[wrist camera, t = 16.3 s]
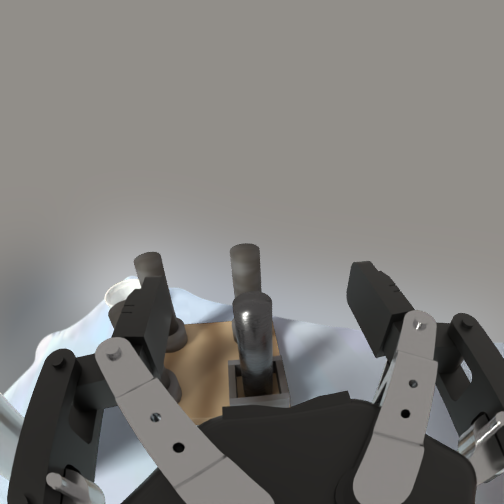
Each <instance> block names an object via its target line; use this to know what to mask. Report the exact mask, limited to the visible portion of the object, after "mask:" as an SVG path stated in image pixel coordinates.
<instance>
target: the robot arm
mask: <svg viewBox="0 0 504 504" xmlns="http://www.w3.org/2000/svg"><path fill="white" fill-rule="evenodd" d="M347 302H348V305H349V307H350V308H351V310H352V312H353V314H354V316H355V318H356V320H357V322H358V324H359V326H360V328H361V330H362V332H363V334H364V336H365V338H366V340H367V341H368V343H369V345H370V347H371V349H372V351H373V354H374V356H375V358H378V357H382V356H386V358H387V361H386V363H385V366H384V369H383V372H382V375H381V378H380V381H379V384H378V387H377V390H376V392H375V395H374V398H373V400H372V402H368V401H364V400H358V399H350V396H349V393H348V391H344V392H339V393H334V394H328V395H323V396H318V397H316V398H313V399H311V400H308V401H306V402H303V403H301V404H298V405H295V406H293V407H289V408H282V407H271V406H262V405H241V406H224V407H222V415H221V416H217V417H214V418H212V419H209V420H207V421H205V422H203V423H202V424H200V425H199V426H196V425H195V424H194V422H193V421H192V420H191V419H190V418H189V417H188V415H187V414H186V413H185V412H184V411H183V410H182V408H181V407H180V406H179V405H178V404H177V402H176V401H175V400H174V399H173V397H172V396H171V395H170V394H169V392H168V391H167V390H166V388H165V387H164V386H163V385H162V383H161V382H160V381H159V379H161V377H162V371H163V364H164V358H165V352H166V346H167V341H168V335H169V329H170V324H171V318H172V310H171V303H170V299H169V295H168V291H167V287H166V282H165V279H164V277H163V276H146V277H145V279H144V281H143V284H142V287H141V289H134V290H133V291H132V292H131V293H130V294H129V295H128V296H127V298H126V301H125V303H124V307H123V308H122V311H121V314H120V316H119V319H118V321H117V324H116V326H115V329H114V332H113V335H112V337H111V338H109V339H107V340H105V341H103V342H102V343H101V344H100V345H99V346H98V347H97V349H96V352H95V353H94V354H91V355H86V356H82V357H77V358H76V357H75V355H74V353H73V352H72V351H71V350H69V349H58V350H56V351H54V352H52V353H51V354H50V355H49V356H48V357H47V358H46V360H45V362H44V365H43V367H42V370H41V372H40V375H39V377H38V380H37V383H36V385H35V388H34V391H33V394H32V397H31V400H30V403H29V406H28V409H27V412H26V415H25V418H23V417H22V416H21V414H20V413H19V412H18V411H17V410H16V409H15V408H14V407H13V406H12V405H11V404H10V403H9V402H8V401H7V399H6V398H5V397H4V396H3V395H2V394H1V393H0V475H1V476H3V477H4V478H6V479H7V480H9V481H10V482H9V488H8V495H7V502H8V504H105V497H104V494H103V492H102V490H101V489H100V488H99V486H97V485H96V484H95V483H94V478H95V468H96V459H97V451H98V443H99V436H100V430H101V423H102V417H103V412H104V408H109V407H114V406H119V408H120V409H121V411H122V413H123V415H124V416H125V418H126V420H127V421H128V423H129V425H130V426H131V428H132V429H133V431H134V433H135V434H136V436H137V437H138V439H139V440H140V442H141V443H142V445H143V446H144V448H145V449H146V451H147V452H148V454H149V455H150V456H151V458H152V459H153V461H154V462H155V463H156V465H157V466H158V467H157V468H156V469H155V470H154V471H153V473H152V474H151V475H150V476H149V477H148V478H147V479H146V480H145V481H144V482H143V483H142V484H141V485H140V486H139V487H138V488H136V489H135V490H134V491H133V492H132V493H131V494H130V495H129V496H128V497H127V498H126V499H125V500H124V501H123V502H122V503H121V504H475V495H476V487H477V486H478V485H480V484H481V483H487V482H489V481H491V480H492V479H494V478H496V477H497V476H499V475H500V474H502V473H503V472H504V358H503V357H502V355H501V354H500V352H499V351H498V349H497V348H496V346H495V345H494V344H493V342H492V341H491V339H490V338H489V336H488V335H487V334H486V332H485V331H484V330H483V328H482V327H481V326H480V324H479V323H478V322H477V320H476V319H475V318H473V317H472V316H470V315H468V314H465V313H458V314H456V315H455V316H454V317H453V319H452V321H451V323H436V321H435V320H434V318H433V317H432V316H430V315H429V314H428V313H426V312H423V311H419V310H415V309H414V308H413V307H412V305H411V304H410V303H409V301H408V300H407V299H406V297H405V296H404V295H403V293H402V292H400V290H399V288H398V287H397V286H395V283H394V282H393V281H392V279H391V278H390V277H389V276H388V275H386V274H384V273H383V272H382V271H378V270H377V269H376V268H375V267H374V266H373V264H372V263H371V262H370V261H363V262H354V263H353V264H352V266H351V271H350V276H349V282H348V288H347ZM463 360H465V362H466V363H467V365H468V367H469V369H470V370H471V372H472V382H471V383H470V381H469V379H468V378H467V376H466V374H465V372H464V371H463V369H462V367H461V365H460V364H461V363H462V361H463ZM435 384H436V386H437V388H438V390H439V393H440V395H441V397H442V399H443V401H444V403H445V405H446V408H447V410H448V412H449V414H450V417H451V419H452V421H453V423H454V426H455V428H456V431H457V433H458V435H459V441H458V450H457V451H455V450H453V449H451V448H449V447H448V446H446V445H444V444H442V443H440V442H439V441H437V440H435V439H433V438H432V437H430V436H428V435H426V434H425V432H426V428H427V424H428V420H429V415H430V410H431V405H432V400H433V394H434V388H435Z"/></svg>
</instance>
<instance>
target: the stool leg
mask: <svg viewBox="0 0 504 504" xmlns="http://www.w3.org/2000/svg"><path fill="white" fill-rule="evenodd" d="M233 313H234V321H235V329H236V337H237V345H238V353H239V360H240V368H241V375H242V383H243V390H244V395H245V397H255V396H264V395H272V393H273V345H272V300H271V298H270V297H269V296H268V295H266V294H265V293H262V292H257V291H250V292H245V293H242V294H240V295H238V296H237V297H236V298H235V299H234V301H233Z"/></svg>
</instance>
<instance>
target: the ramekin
mask: <svg viewBox="0 0 504 504" xmlns="http://www.w3.org/2000/svg"><path fill="white" fill-rule="evenodd" d="M134 289H141V286H140V283H139V279H129V280H125V281H122V282H119V283H117V284H115V285H114V286H112V287H111V288H110V289H109V290H108V291H107V293H106V294H105V302H106V304H107V305H108V306H109V308H110V309H111V308H112V306H114V305H115V304H116V303H118V302H120V301H123V300H126V298H127V296H128V295H129V294H130V293H131V292H132V291H133V290H134Z"/></svg>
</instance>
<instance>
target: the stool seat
mask: <svg viewBox="0 0 504 504" xmlns="http://www.w3.org/2000/svg"><path fill="white" fill-rule="evenodd" d="M230 257H231V267H232V277H233V286H234V294H235V298H236V297H237V296H238V295H240V294H242V293H245V292H250V291H257V292H261V272H260V251H259V247H257V246H256V245H254V244H239V245H236V246H234V247H232V248H231V250H230ZM134 265H135V268H136V272H137V275H138V279H139V283H140V286H141V287H142V284H143V281H144V279H145V277H146V276H163V277H164V279H165V282H166V287H167V291H168V295H169V299H170V303H171V310H172V318H171V324H170V329H169V335H168V341H167V346H166V352H165V358H164V364H163V371H162V377H161V379H159V381H160V382H161V383H162V385H163V386H164V387H165V388H166V390H167V391H168V392H169V394H170V395H171V396H172V397H173V399H174V400H175V401H176V402H177V404H178V405H179V406H180V407H181V408H182V410H183V411H184V412H185V413H186V414H187V415H188V417H189V418H190V419H191V420H192V421H193V422H194V424H195V425H200V424H202V423H203V422H205V421H207V420H209V419H212V418H214V417H217V416H221V415H222V407H224V406H241V405H262V406H271V407H282V408H289V407H291V406H290V394H289V390H288V385H287V380H286V376H285V371H284V366H283V362H282V357H281V355H280V354H279V349H278V345H277V340H276V335H275V330H274V326H273V321H272V345H273V393H272V395H264V396H255V397H245V395H244V390H243V383H242V375H241V368H240V360H239V353H238V345H237V337H236V329H235V321H234V319H233V320H232V321H228V322H215V323H200V324H184V323H183V321H182V320H180V319H179V318H176V315H175V312H174V308H173V304H172V300H171V297H170V293H169V289H168V285H167V281H166V276H165V272H164V268H163V264H162V259H161V255H160V254H159V253H157V252H147V253H144V254H141V255H139V256H138V257H136V258H135V260H134ZM125 301H126V300H123V301H120V302H118V303H116V304H115V305H114V306H112V308H111V309H110V310H109V313H108V316H109V319H110V321H111V323H112V325H113V328H114V329H115V326H116V324H117V321H118V319H119V316H120V314H121V311H122V308H123V307H124V303H125Z"/></svg>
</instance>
